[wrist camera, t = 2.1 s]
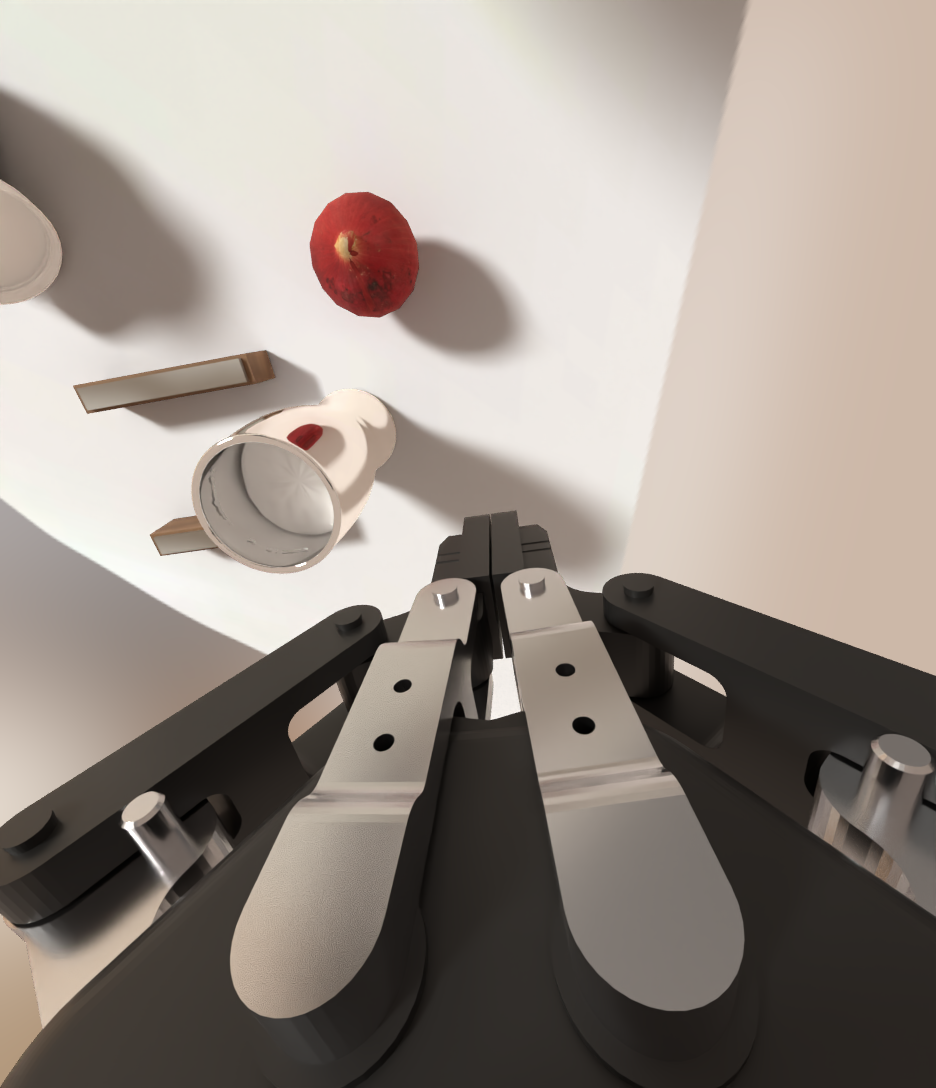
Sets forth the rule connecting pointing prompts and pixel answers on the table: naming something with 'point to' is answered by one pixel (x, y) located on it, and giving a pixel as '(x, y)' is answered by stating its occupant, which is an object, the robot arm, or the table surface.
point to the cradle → (171, 385)
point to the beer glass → (293, 480)
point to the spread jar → (25, 248)
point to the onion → (364, 254)
